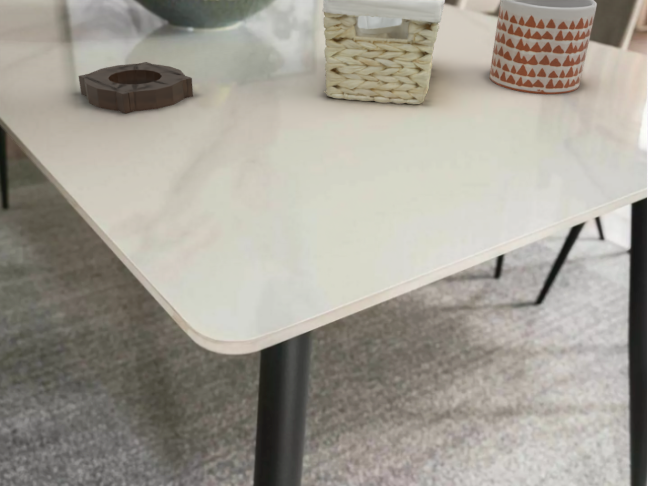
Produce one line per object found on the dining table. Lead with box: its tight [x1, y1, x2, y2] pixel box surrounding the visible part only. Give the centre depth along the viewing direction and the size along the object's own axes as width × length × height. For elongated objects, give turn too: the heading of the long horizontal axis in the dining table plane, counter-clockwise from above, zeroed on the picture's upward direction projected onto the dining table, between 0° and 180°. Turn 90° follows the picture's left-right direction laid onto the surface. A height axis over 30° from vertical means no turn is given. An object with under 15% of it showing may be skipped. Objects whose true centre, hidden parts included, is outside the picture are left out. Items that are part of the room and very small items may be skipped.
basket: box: [322, 0, 446, 105], centre depth 101 cm, size 24×16×15 cm
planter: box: [489, 0, 598, 95], centre depth 104 cm, size 14×14×13 cm
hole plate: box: [78, 61, 194, 115], centre depth 94 cm, size 13×13×3 cm
